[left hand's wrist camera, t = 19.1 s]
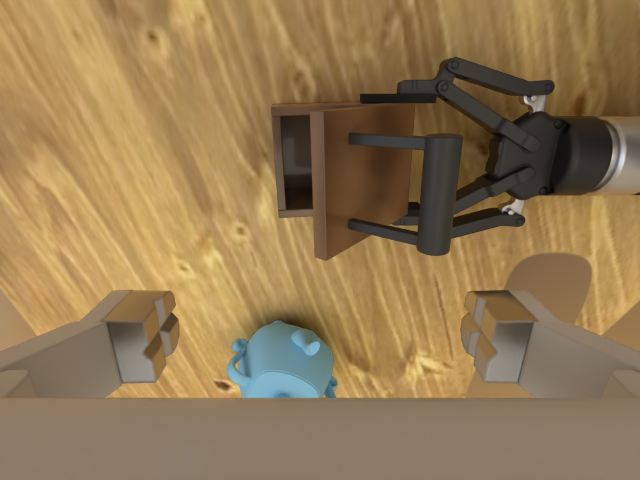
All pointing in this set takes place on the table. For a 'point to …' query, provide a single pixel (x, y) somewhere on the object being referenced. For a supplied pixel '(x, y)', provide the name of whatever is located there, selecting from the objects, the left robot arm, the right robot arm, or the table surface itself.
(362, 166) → the lid
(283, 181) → the chest
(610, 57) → the table surface
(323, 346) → the teapot
